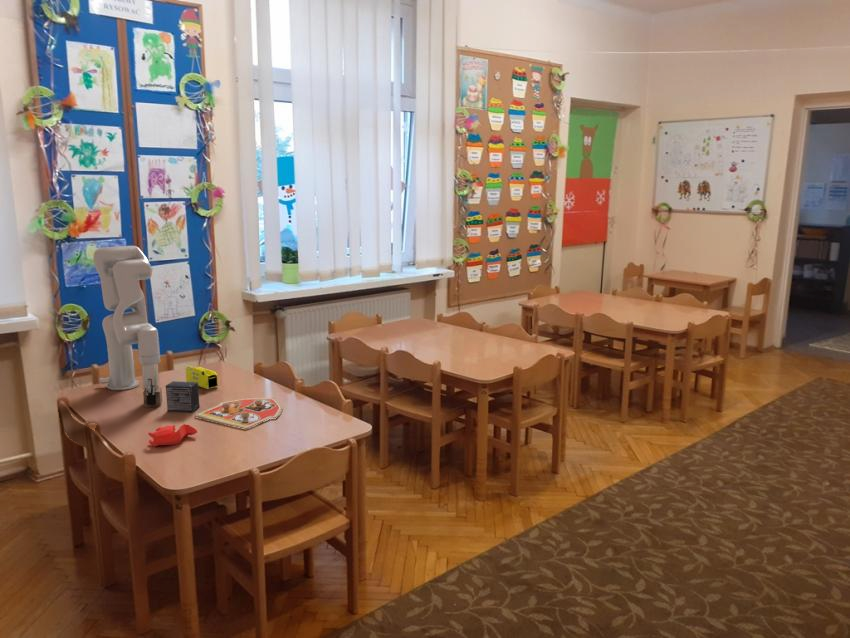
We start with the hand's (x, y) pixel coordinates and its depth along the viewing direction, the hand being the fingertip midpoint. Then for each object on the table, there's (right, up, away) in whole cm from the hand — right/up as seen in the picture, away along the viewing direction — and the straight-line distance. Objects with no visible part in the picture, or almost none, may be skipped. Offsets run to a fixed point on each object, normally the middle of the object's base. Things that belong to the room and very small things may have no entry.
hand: (153, 400), depth 261 cm
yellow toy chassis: (+11, +3, +24) cm, 27 cm away
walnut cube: (0, -2, 0) cm, 2 cm away
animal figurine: (+21, -10, -34) cm, 42 cm away
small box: (+14, -3, -5) cm, 15 cm away
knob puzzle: (+40, -4, -7) cm, 40 cm away
